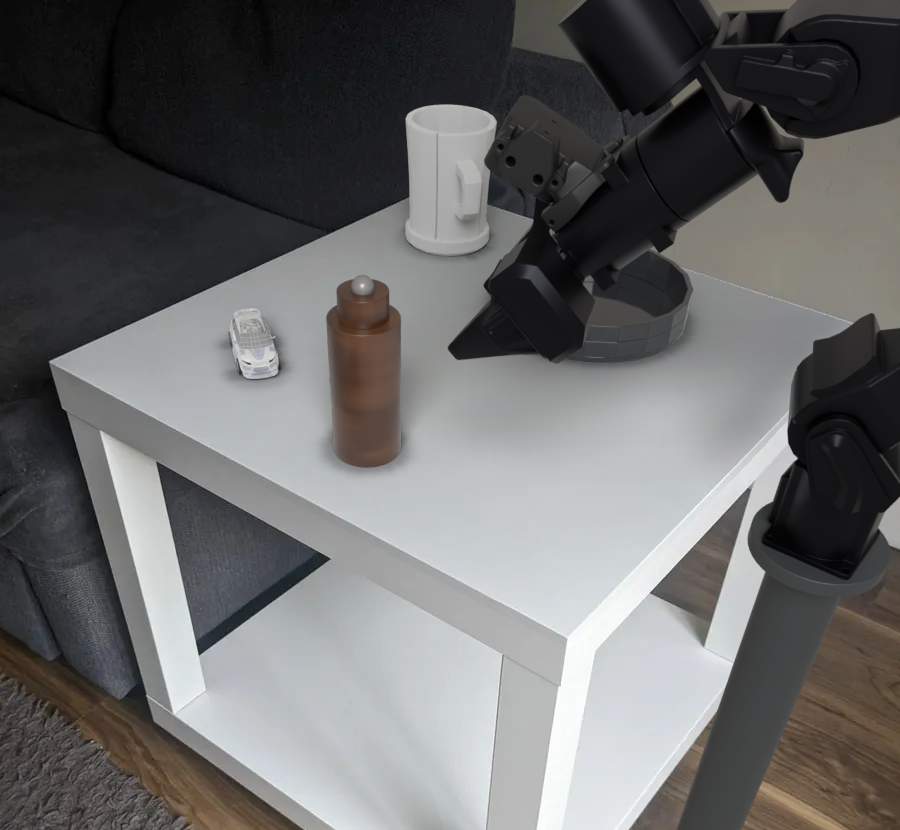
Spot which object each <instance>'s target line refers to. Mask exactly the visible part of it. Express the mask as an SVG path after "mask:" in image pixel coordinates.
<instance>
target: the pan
mask: <svg viewBox="0 0 900 830" xmlns="http://www.w3.org/2000/svg"><path fill="white" fill-rule="evenodd" d="M508 253H509V252H507V253H506V254H504V255H503V257H502V258H501V260H503V259H504V258H505V257H506V256H507V254H508ZM583 285H584V286H585V288H586V289H587V290H588V292H589V293H590V294H591V295H592V297H593V298H594V299H595V307H594V314H593V320H592V323H591V326H590V329H589V331H588V334H587V337H586V339H585V342H584V345H583V347H582V348H581V349H580V350H578V351H577V352H575V353H573V354H572V355H570V356H569V357H567V358H566V359H568V360H572V361H581V362H582V361H583V362H588V363H589V362H592V363H620V362H629V361H634V360H640V359H644V358H648V357H651V356H655V355H658V354H660V353H662V352H664V351H665V350H667V349H669V348H670V347H672V346H673V345H674V344H675V343H677V341H679V339H680V338H681V336H682V335H683V333H684V330H685V327H686V323H687V320H688V317H689V312H690V307H691V303H692V298H693V293H694V287H693V285H692V281H691V279H690V276H689V274H688V273H687V272H686V271H685V270H684V269H683V268H682V267H681V266H680V265H678V263H676V261H674V260H673V259H671V258H669V257H666V256H665V255H663V254H661V253H658V251H657V250H654V249H652V248H651V249H649V250H648V251H646V252H645V253H643V254H642V255H640V256H639V257H637V258H636V259H635V260H633V261H632V262H630V263H629V264H627V265H626V266H624V267H623V268H622V269H621V271H620V274H619V277H618V279H617V282H616V283H615V284H614V285H612V286H611V287H609V288H608V289H607V290H605V291H604V292H603V291H602V290H601V289H600V287H599V286H598V285H597V283H596V282H595V281H594V280H593V278H592V277H591V276H588V277H587V278H585V281H584V283H583Z"/></svg>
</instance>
